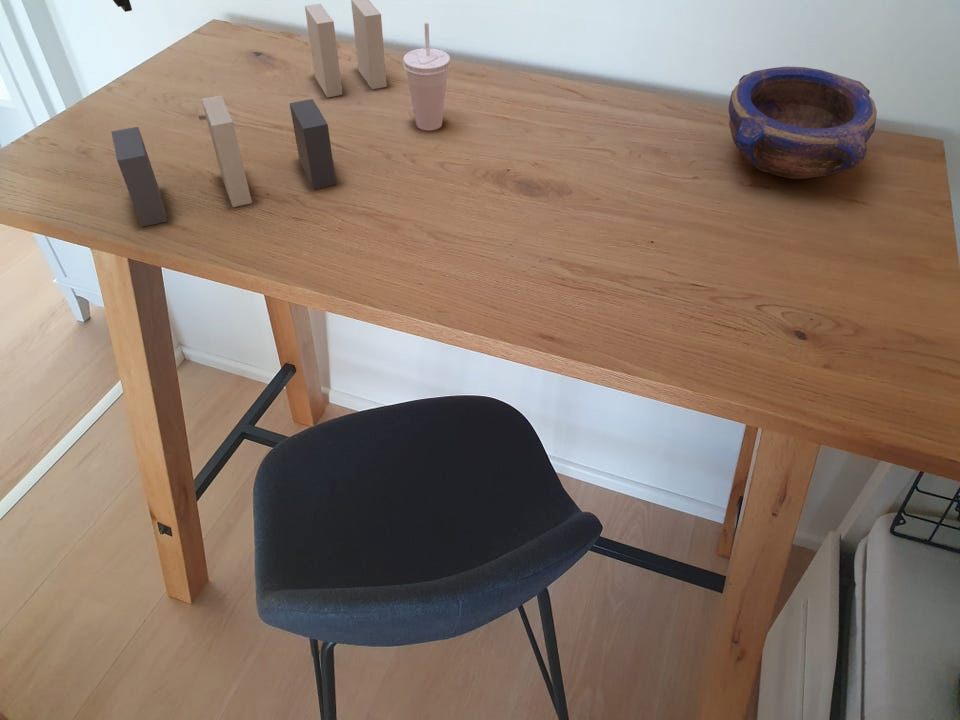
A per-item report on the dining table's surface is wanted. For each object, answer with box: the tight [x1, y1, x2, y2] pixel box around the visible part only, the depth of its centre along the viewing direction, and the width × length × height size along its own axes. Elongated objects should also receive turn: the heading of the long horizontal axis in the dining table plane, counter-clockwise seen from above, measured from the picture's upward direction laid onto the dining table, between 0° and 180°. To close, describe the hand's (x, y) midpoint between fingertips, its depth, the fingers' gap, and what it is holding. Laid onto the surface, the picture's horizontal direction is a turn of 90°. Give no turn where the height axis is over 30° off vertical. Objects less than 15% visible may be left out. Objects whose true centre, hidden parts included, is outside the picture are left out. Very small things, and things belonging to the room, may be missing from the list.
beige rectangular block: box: [201, 95, 253, 208], centre depth 93 cm, size 2×7×11 cm, turn 23°
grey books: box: [111, 98, 337, 228], centre depth 94 cm, size 24×7×9 cm, turn 113°
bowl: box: [728, 66, 878, 180], centre depth 100 cm, size 18×18×10 cm
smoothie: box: [402, 22, 451, 132], centre depth 105 cm, size 6×6×14 cm
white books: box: [304, 0, 388, 98], centre depth 115 cm, size 9×7×11 cm
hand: (167, 0), depth 81 cm, fingers open, 8 cm apart
